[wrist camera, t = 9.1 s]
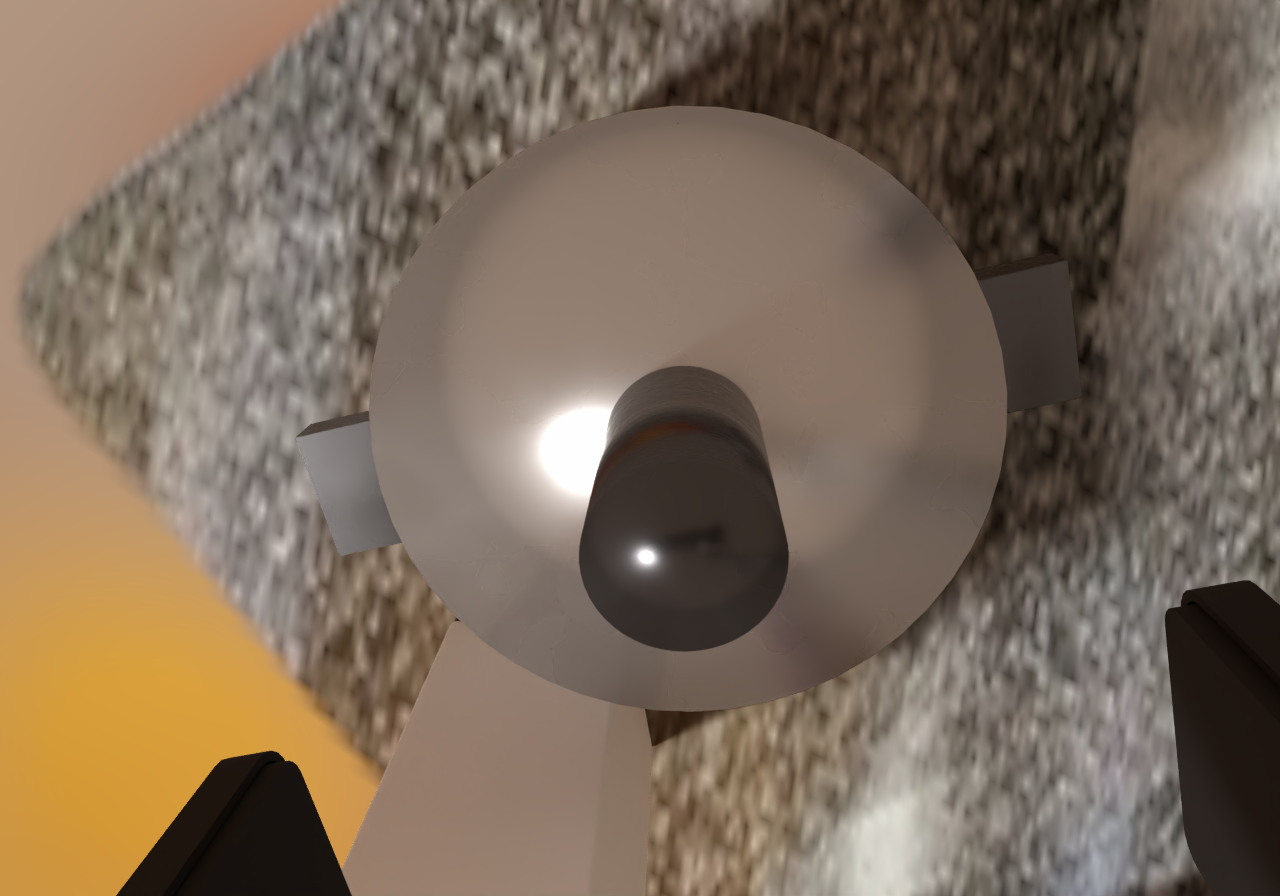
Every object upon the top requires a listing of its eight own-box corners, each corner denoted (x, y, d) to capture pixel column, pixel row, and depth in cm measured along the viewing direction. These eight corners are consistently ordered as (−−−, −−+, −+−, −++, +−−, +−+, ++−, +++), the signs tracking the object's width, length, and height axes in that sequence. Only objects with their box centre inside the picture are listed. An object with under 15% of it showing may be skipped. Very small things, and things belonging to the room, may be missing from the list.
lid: (1027, 588, 23) (1177, 804, 16) (511, 716, 25) (442, 960, 18) (908, 15, 19) (1039, -33, 12) (303, 216, 21) (109, 277, 14)
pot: (937, 48, 26) (1056, 25, 18) (993, 456, 30) (1113, 596, 22) (347, 201, 29) (205, 245, 20) (469, 566, 32) (392, 732, 24)
